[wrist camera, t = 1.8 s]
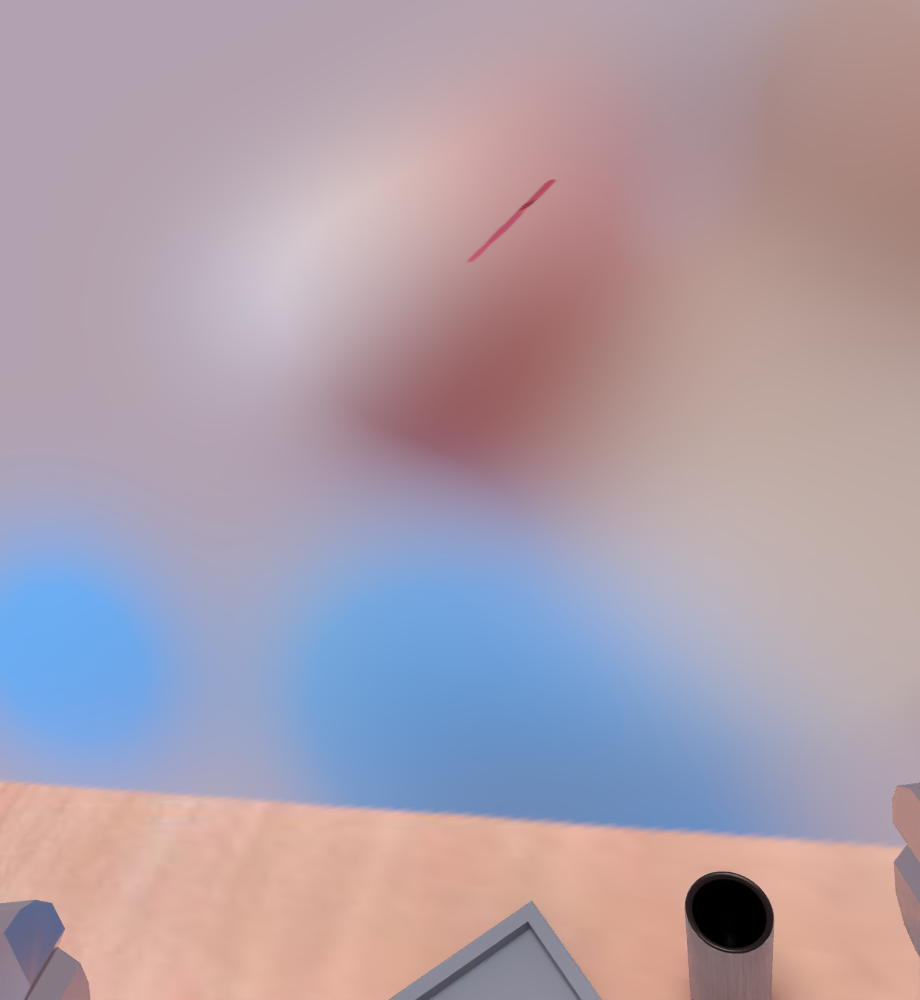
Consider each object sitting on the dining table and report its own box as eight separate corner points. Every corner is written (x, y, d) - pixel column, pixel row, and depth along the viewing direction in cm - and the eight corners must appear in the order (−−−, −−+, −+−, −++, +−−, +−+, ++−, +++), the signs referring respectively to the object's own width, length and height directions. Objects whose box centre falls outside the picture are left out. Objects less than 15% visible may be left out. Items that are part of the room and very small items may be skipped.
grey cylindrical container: (704, 1050, 47) (699, 959, 41) (681, 970, 50) (674, 877, 45) (782, 1039, 46) (788, 946, 41) (754, 959, 50) (755, 864, 45)
